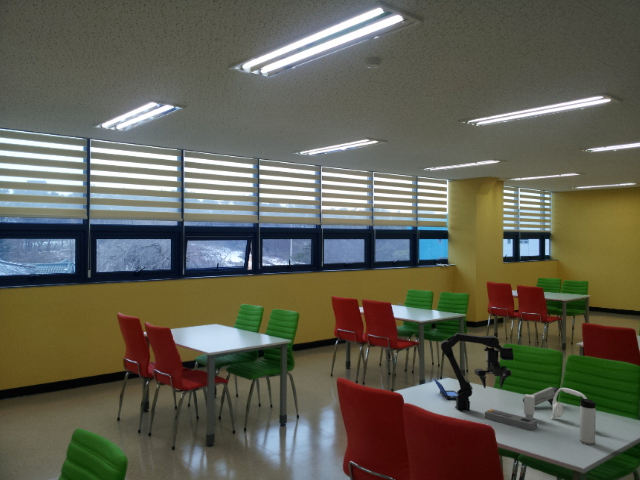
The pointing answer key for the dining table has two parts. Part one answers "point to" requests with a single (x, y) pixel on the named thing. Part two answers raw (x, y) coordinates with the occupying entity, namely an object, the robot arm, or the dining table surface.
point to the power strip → (511, 419)
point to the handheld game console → (446, 392)
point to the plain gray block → (529, 406)
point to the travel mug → (587, 421)
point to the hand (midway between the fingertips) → (492, 387)
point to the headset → (557, 406)
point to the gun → (545, 395)
